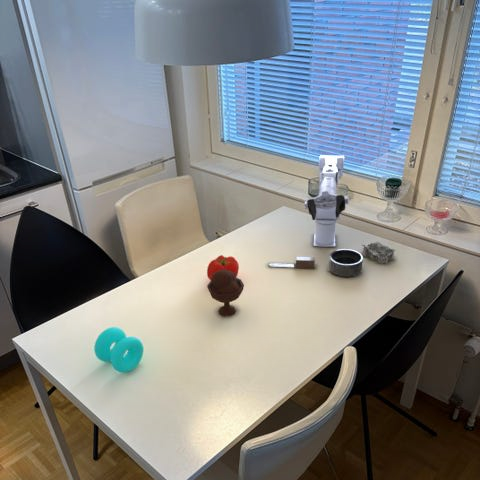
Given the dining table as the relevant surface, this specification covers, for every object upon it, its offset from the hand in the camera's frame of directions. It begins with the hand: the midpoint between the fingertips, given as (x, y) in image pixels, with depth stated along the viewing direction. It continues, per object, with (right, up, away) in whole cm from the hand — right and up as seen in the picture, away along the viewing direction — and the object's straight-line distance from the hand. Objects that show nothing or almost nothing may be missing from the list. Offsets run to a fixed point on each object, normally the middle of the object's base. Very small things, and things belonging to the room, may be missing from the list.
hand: (324, 216), depth 160 cm
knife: (-9, -15, +14) cm, 22 cm away
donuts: (-60, -46, -25) cm, 79 cm away
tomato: (-33, -21, +8) cm, 40 cm away
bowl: (+9, -16, +11) cm, 21 cm away
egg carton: (+22, -11, +17) cm, 30 cm away
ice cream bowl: (-32, -31, -6) cm, 45 cm away
